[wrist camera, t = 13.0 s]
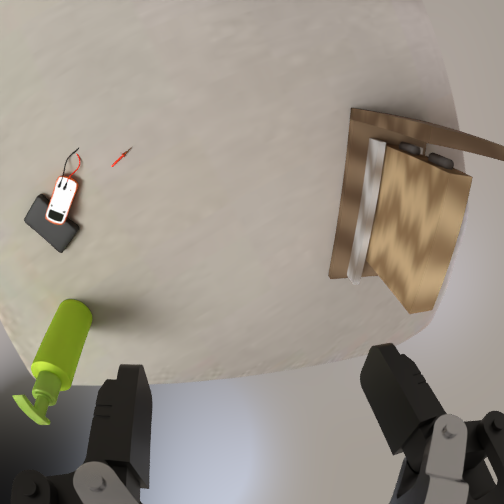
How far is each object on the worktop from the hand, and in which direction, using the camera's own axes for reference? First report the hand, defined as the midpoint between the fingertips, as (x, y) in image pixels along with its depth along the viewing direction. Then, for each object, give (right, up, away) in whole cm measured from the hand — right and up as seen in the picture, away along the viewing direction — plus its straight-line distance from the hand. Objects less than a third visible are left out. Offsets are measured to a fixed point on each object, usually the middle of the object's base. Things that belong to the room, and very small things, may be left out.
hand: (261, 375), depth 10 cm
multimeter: (-23, +14, +24) cm, 36 cm away
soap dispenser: (-28, -5, +33) cm, 43 cm away
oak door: (+17, +11, +30) cm, 37 cm away
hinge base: (+17, +11, +31) cm, 37 cm away
